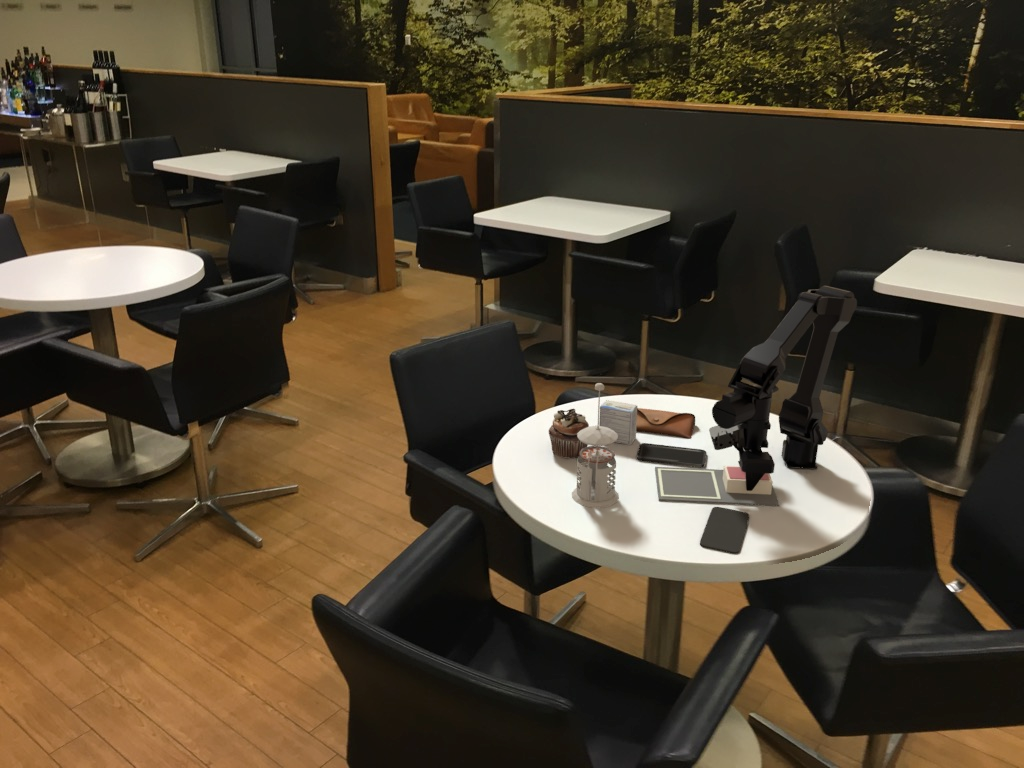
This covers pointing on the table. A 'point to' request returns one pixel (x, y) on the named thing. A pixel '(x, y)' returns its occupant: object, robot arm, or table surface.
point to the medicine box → (619, 420)
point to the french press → (596, 466)
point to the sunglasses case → (665, 422)
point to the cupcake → (567, 433)
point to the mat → (703, 488)
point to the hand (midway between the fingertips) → (746, 482)
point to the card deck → (744, 482)
